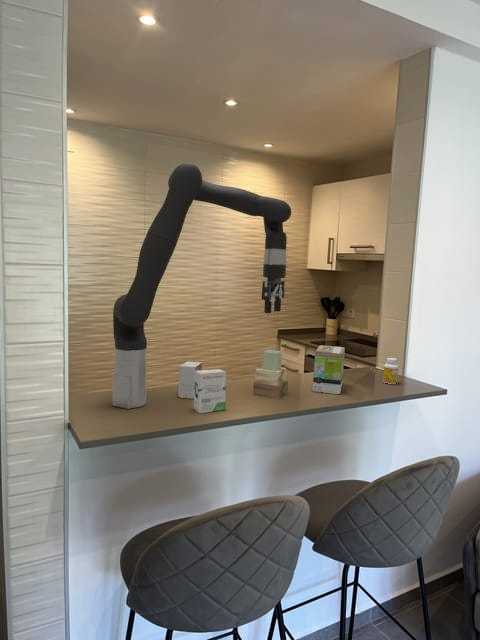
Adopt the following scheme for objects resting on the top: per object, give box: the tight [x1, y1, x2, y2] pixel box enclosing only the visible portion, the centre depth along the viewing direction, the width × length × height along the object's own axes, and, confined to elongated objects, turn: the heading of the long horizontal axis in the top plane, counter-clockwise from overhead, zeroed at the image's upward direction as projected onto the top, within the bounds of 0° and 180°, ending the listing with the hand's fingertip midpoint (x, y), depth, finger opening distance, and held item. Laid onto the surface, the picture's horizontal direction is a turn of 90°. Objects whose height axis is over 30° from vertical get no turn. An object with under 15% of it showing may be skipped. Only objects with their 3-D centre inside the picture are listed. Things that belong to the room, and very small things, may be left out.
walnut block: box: [252, 380, 289, 400], centre depth 154 cm, size 9×9×4 cm
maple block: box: [254, 366, 287, 386], centre depth 154 cm, size 8×8×4 cm
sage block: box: [261, 349, 283, 371], centre depth 153 cm, size 5×5×6 cm
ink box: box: [193, 368, 227, 414], centre depth 134 cm, size 9×5×12 cm, turn 116°
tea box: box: [311, 344, 346, 395], centre depth 164 cm, size 15×10×15 cm
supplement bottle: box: [382, 357, 399, 385], centre depth 175 cm, size 5×5×10 cm
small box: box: [178, 361, 203, 400], centre depth 149 cm, size 8×6×10 cm
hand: (272, 312), depth 151 cm, fingers open, 8 cm apart
